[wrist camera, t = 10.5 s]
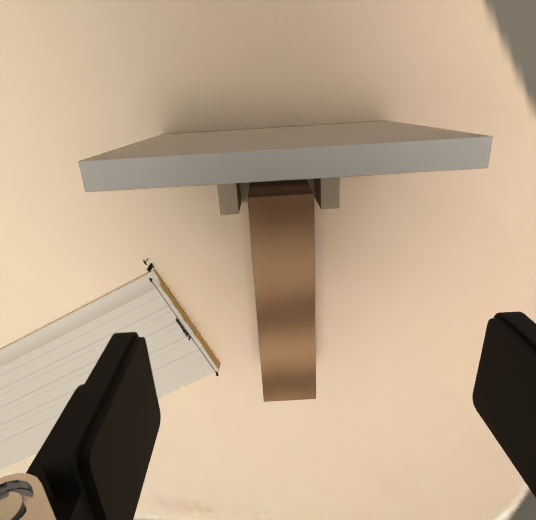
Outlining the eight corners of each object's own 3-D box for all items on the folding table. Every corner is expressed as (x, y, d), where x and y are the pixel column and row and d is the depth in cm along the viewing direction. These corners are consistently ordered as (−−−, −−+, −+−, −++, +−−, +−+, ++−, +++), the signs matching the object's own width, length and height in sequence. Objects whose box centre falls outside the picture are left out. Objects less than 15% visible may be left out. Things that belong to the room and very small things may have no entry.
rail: (250, 178, 29) (247, 197, 24) (304, 175, 29) (313, 193, 24) (263, 356, 36) (263, 401, 30) (308, 354, 35) (316, 398, 30)
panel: (162, 134, 28) (78, 161, 15) (386, 120, 28) (492, 136, 15) (172, 204, 30) (105, 280, 17) (383, 191, 30) (474, 259, 17)
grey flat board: (-129, 396, 37) (-37, 477, 41) (-160, 419, 35) (-57, 503, 39) (146, 250, 32) (221, 359, 36) (136, 264, 30) (218, 380, 34)
